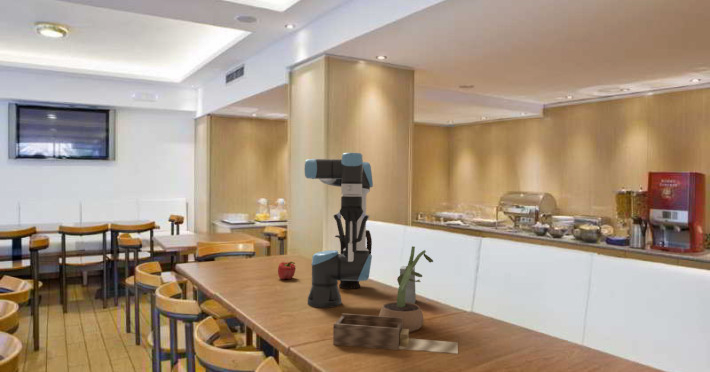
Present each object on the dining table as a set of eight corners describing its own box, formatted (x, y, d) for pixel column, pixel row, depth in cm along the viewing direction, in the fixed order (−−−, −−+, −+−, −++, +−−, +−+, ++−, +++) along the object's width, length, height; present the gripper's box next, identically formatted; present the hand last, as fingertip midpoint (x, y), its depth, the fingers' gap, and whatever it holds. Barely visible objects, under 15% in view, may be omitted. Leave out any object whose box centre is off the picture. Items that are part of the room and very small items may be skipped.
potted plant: (408, 337, 170) (409, 253, 169) (369, 326, 182) (370, 247, 182) (442, 324, 187) (443, 247, 186) (405, 314, 199) (406, 242, 198)
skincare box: (414, 304, 215) (415, 269, 215) (398, 303, 217) (399, 268, 217) (416, 299, 224) (416, 265, 223) (400, 298, 225) (401, 265, 225)
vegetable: (300, 278, 267) (300, 260, 267) (288, 281, 258) (288, 263, 258) (285, 276, 273) (285, 258, 273) (273, 279, 264) (273, 261, 264)
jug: (325, 289, 242) (325, 230, 242) (339, 281, 260) (340, 226, 259) (364, 293, 235) (364, 232, 234) (376, 285, 252) (377, 228, 251)
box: (333, 344, 162) (333, 323, 162) (342, 332, 175) (342, 313, 175) (398, 350, 157) (398, 328, 157) (402, 337, 170) (402, 317, 170)
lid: (398, 350, 159) (398, 336, 158) (402, 340, 169) (402, 326, 169) (457, 355, 155) (458, 340, 155) (457, 344, 165) (457, 330, 165)
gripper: (331, 195, 170) (330, 261, 171) (367, 196, 168) (366, 263, 168) (336, 195, 178) (335, 258, 178) (371, 195, 175) (370, 260, 175)
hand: (350, 260), depth 173 cm, fingers closed
